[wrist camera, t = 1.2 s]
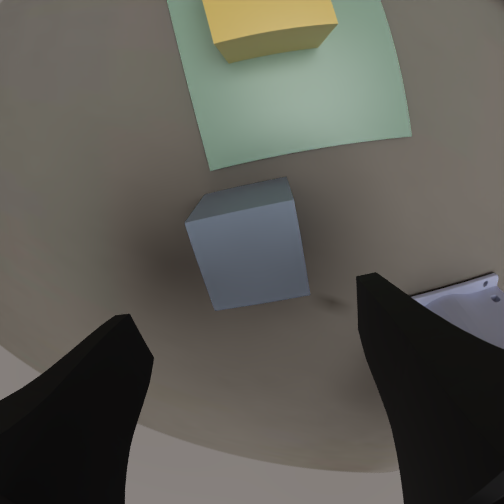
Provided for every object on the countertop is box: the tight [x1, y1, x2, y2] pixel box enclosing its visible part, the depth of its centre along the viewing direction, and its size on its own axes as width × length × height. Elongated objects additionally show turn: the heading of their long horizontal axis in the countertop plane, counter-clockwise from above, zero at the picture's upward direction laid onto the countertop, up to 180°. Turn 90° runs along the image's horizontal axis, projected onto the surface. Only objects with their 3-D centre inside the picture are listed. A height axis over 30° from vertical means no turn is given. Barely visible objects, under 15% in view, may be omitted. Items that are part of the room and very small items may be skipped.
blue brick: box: [185, 177, 310, 311], centre depth 15 cm, size 4×4×4 cm
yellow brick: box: [202, 0, 338, 64], centre depth 9 cm, size 4×4×4 cm
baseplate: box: [167, 0, 412, 171], centre depth 12 cm, size 11×11×1 cm
